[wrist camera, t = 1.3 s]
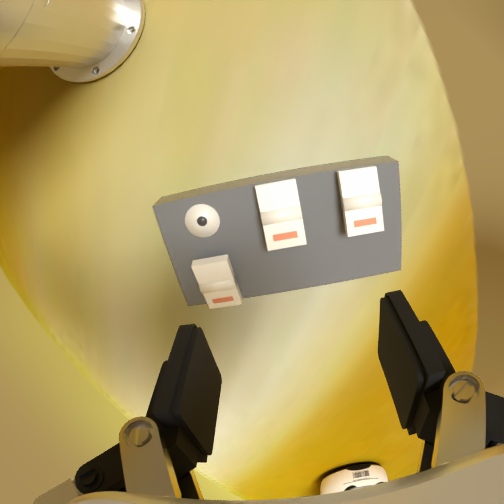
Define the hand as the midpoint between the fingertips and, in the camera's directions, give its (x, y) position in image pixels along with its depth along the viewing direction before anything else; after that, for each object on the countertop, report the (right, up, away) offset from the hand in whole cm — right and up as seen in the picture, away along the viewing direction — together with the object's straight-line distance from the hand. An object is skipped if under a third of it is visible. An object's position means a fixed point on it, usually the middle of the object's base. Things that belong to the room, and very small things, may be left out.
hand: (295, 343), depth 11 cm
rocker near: (+8, +8, +16) cm, 20 cm away
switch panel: (+2, +6, +22) cm, 23 cm away
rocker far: (-5, 0, +21) cm, 22 cm away
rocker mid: (+1, +7, +17) cm, 19 cm away
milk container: (+24, -53, +52) cm, 78 cm away
